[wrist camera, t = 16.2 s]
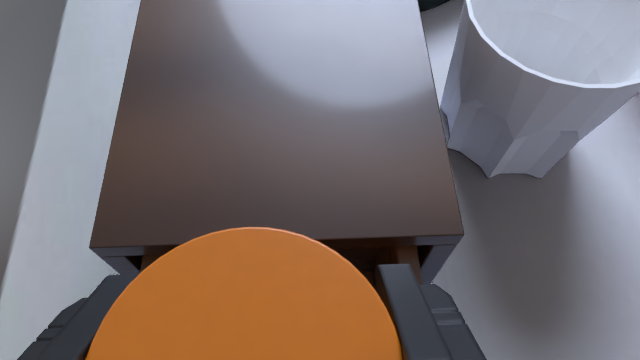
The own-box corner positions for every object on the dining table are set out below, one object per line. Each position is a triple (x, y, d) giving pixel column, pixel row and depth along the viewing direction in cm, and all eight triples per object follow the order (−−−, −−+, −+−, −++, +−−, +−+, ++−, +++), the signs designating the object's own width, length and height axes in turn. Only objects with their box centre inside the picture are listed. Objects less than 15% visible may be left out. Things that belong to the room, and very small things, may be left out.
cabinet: (411, 311, 26) (464, 234, 16) (174, 320, 26) (88, 248, 16) (385, 107, 32) (411, -31, 23) (196, 113, 32) (145, -25, 23)
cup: (396, 126, 32) (424, 7, 23) (484, 47, 35) (538, -82, 26) (524, 224, 28) (615, 127, 20) (609, 126, 32) (717, 6, 23)
